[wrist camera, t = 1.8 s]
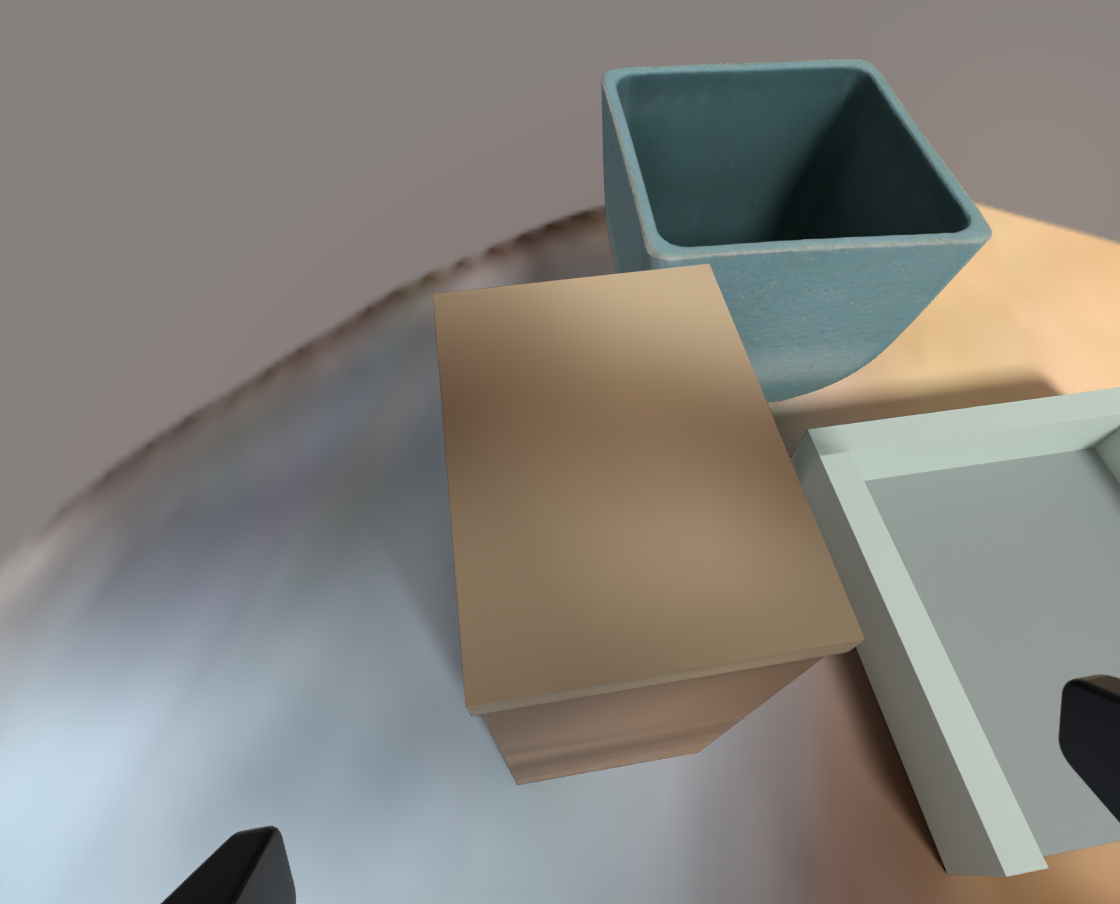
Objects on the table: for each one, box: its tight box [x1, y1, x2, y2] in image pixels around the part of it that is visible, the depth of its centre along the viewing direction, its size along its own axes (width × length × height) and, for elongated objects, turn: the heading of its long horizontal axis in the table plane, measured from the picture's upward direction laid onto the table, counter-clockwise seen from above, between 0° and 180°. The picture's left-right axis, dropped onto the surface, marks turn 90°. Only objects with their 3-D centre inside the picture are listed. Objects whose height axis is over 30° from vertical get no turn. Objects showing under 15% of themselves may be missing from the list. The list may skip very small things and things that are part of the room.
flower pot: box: [601, 59, 992, 402], centre depth 22 cm, size 9×9×9 cm
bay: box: [790, 387, 1120, 877], centre depth 19 cm, size 12×12×2 cm
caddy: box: [433, 264, 865, 785], centre depth 15 cm, size 7×5×11 cm
